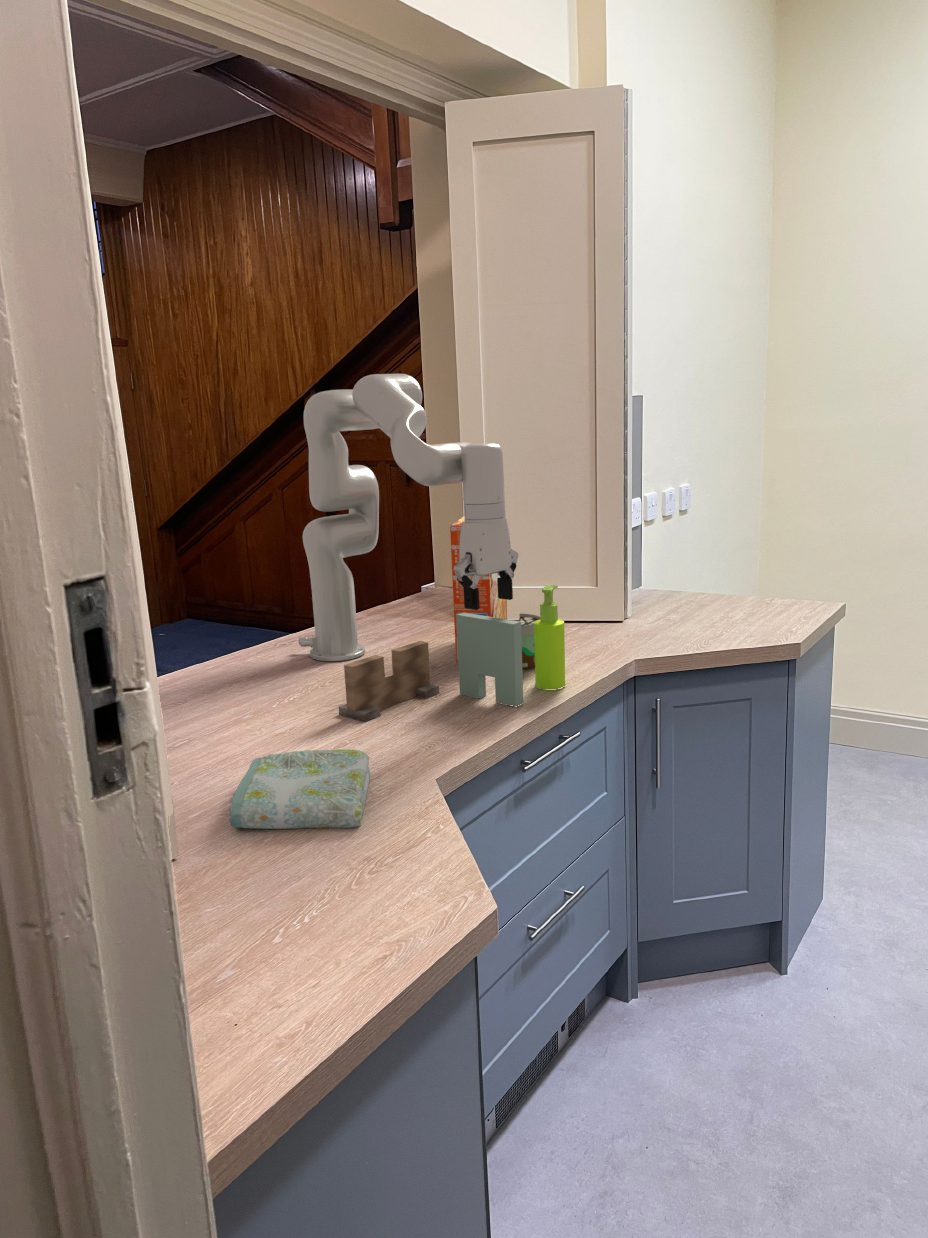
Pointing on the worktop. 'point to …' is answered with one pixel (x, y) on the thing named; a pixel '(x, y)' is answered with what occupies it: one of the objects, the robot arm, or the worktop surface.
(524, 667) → the food container
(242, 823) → the towel
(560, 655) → the soap dispenser
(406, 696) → the walnut slotted board
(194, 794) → the worktop surface
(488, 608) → the cereal box
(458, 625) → the sage slotted plate
